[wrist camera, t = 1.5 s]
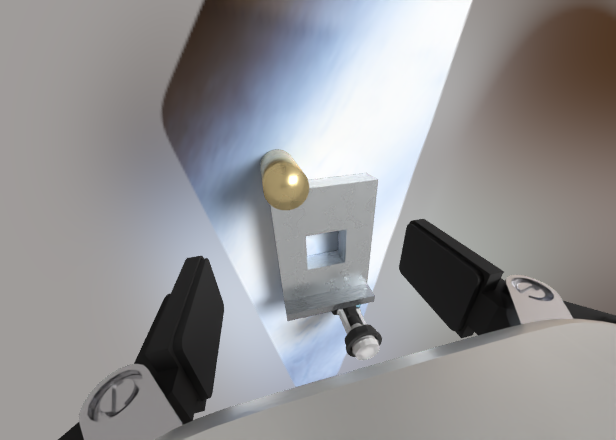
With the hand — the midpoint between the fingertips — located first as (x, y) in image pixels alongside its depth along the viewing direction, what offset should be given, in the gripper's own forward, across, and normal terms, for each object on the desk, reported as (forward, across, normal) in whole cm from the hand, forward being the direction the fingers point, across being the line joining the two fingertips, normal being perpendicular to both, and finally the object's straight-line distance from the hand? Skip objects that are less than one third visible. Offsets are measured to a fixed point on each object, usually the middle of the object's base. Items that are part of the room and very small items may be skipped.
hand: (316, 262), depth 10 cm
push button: (+18, -8, +24) cm, 31 cm away
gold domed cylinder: (+18, 0, 0) cm, 18 cm away
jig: (+18, -5, +11) cm, 22 cm away
